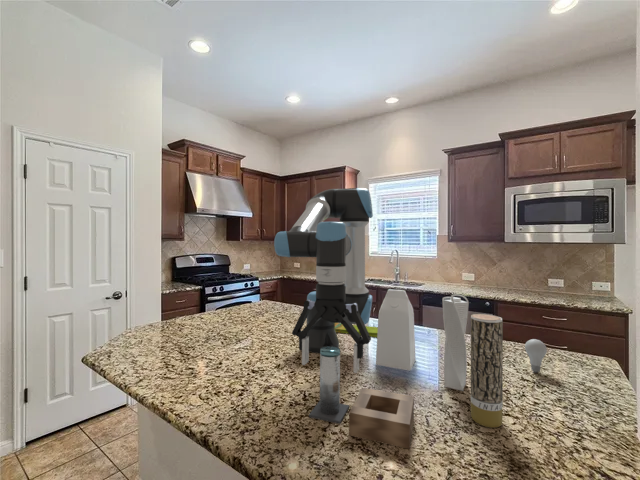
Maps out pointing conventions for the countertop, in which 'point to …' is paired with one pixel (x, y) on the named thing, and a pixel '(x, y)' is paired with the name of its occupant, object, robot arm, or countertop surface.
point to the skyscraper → (455, 341)
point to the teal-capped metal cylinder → (329, 380)
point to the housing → (382, 417)
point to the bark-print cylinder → (487, 369)
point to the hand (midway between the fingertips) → (330, 367)
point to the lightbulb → (535, 353)
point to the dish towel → (341, 329)
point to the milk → (396, 332)
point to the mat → (331, 418)
